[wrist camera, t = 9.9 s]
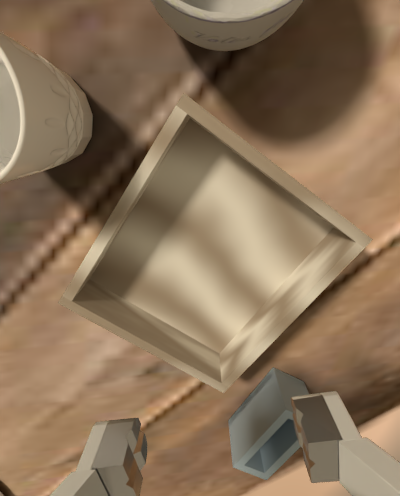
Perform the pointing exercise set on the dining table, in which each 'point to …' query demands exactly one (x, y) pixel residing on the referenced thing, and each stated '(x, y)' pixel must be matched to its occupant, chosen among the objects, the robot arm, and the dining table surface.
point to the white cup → (38, 113)
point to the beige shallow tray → (210, 251)
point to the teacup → (225, 20)
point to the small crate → (266, 425)
